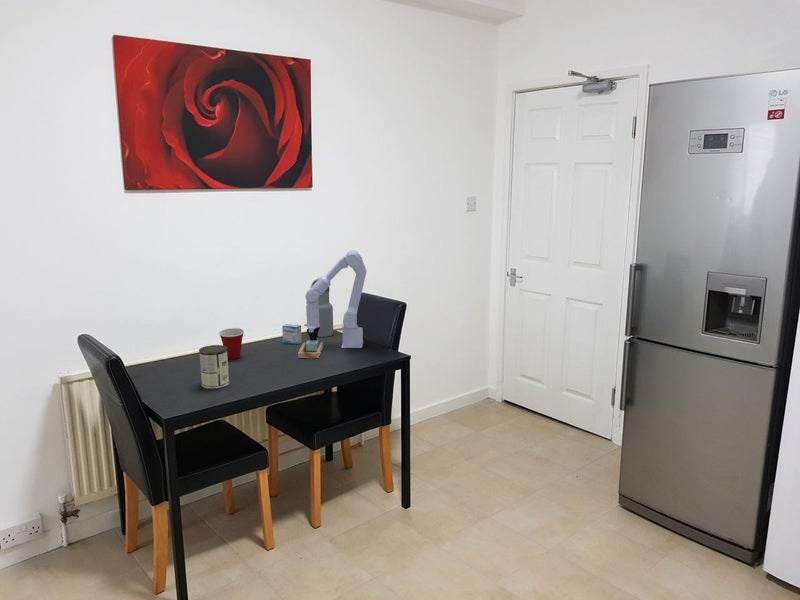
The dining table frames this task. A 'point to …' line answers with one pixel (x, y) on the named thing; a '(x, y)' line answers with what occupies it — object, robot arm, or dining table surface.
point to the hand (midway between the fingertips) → (313, 343)
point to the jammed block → (311, 345)
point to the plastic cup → (232, 341)
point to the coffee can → (214, 366)
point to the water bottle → (325, 314)
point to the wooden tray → (310, 354)
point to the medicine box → (291, 334)
